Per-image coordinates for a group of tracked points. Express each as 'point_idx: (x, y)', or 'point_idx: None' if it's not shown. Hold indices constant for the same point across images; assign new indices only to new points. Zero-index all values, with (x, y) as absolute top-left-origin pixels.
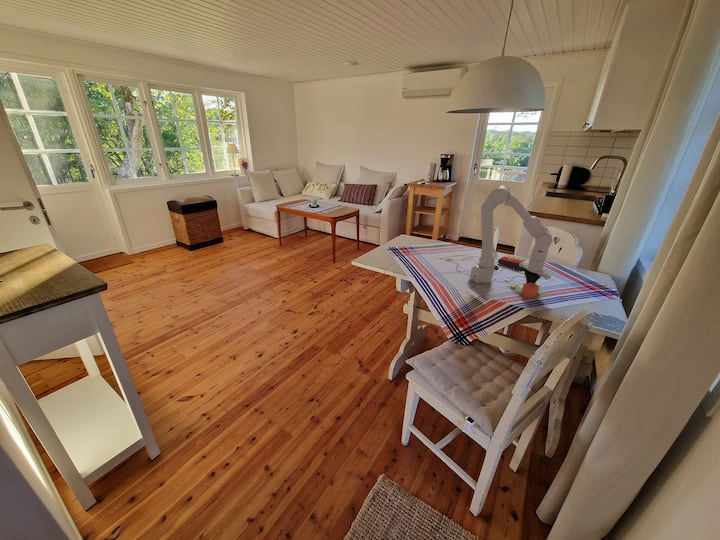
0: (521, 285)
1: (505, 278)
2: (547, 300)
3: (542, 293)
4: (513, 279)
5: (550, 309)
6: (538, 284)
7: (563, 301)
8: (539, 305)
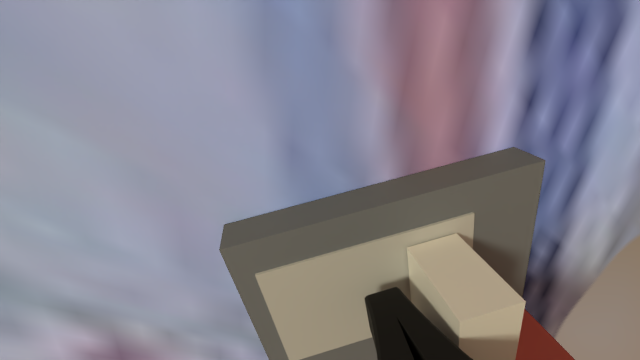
0: (294, 328)
1: (26, 349)
2: None
3: (489, 208)
4: (31, 282)
5: (621, 234)
6: (503, 323)
7: (623, 17)
8: (554, 276)
